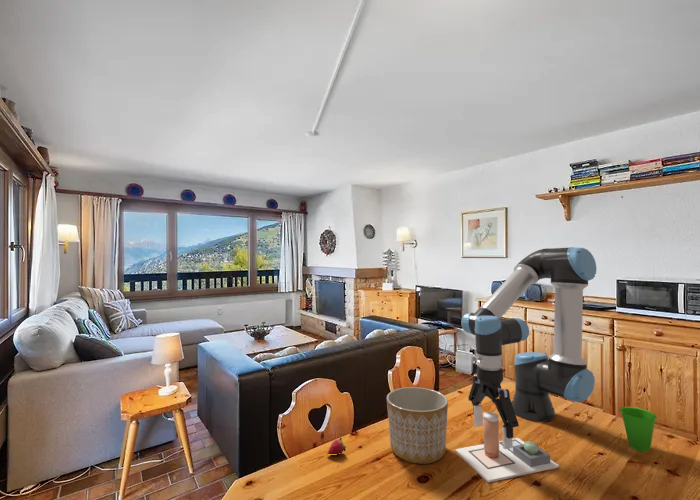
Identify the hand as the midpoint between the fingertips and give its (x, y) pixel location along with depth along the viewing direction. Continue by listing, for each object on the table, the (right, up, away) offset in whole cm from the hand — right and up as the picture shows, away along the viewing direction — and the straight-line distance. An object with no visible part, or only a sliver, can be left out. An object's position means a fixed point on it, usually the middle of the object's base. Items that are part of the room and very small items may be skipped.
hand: (492, 436), depth 105 cm
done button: (+11, -4, -3) cm, 11 cm away
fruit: (-48, -7, +2) cm, 49 cm away
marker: (0, -6, 0) cm, 6 cm away
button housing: (+11, -6, -3) cm, 12 cm away
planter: (-22, -7, +4) cm, 24 cm away
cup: (+48, -6, +3) cm, 49 cm away
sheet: (+3, -6, -2) cm, 7 cm away
